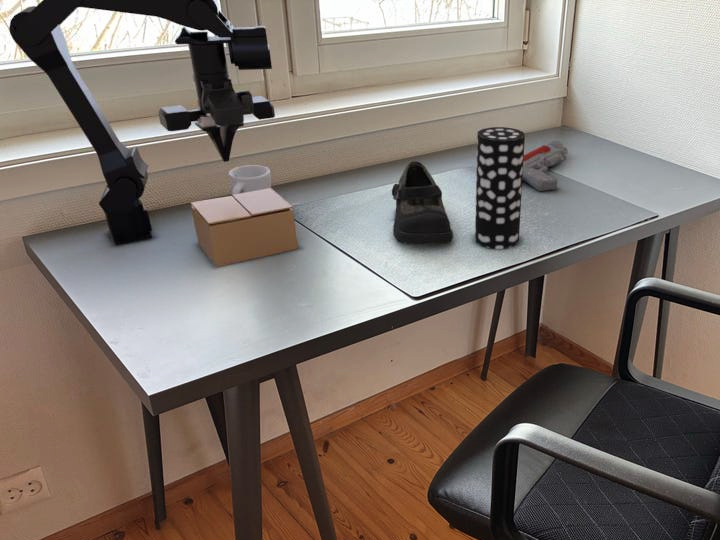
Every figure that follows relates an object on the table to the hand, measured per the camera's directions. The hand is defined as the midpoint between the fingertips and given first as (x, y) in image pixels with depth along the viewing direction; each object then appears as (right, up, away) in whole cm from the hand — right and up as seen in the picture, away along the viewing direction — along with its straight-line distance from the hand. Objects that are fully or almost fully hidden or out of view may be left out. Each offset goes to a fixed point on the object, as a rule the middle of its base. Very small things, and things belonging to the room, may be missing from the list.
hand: (225, 161), depth 134 cm
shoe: (+35, -11, +9) cm, 37 cm away
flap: (+1, -10, -6) cm, 12 cm away
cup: (0, -7, +14) cm, 15 cm away
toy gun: (+62, +8, +39) cm, 73 cm away
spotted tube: (+50, -14, +6) cm, 52 cm away
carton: (+4, -16, 0) cm, 16 cm away
